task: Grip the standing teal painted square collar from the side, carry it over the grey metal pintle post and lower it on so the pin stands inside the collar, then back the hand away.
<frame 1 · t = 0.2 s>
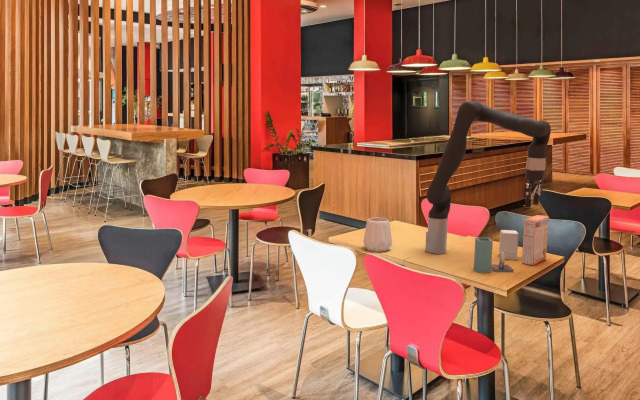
hand: (531, 205, 227), 29 cm above the table, tool pointing down, fingers open, 8 cm apart
cracker box: (533, 262, 246), on the table
vase: (377, 249, 265), on the table
pintle: (501, 269, 233), on the table
collar: (482, 270, 231), on the table
supplement box: (507, 257, 252), on the table
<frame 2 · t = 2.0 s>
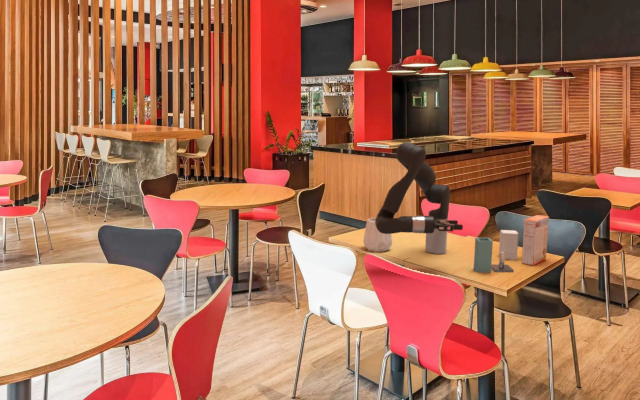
hand: (459, 225, 228), 20 cm above the table, tool horizontal, fingers open, 8 cm apart
nothing on the table moved.
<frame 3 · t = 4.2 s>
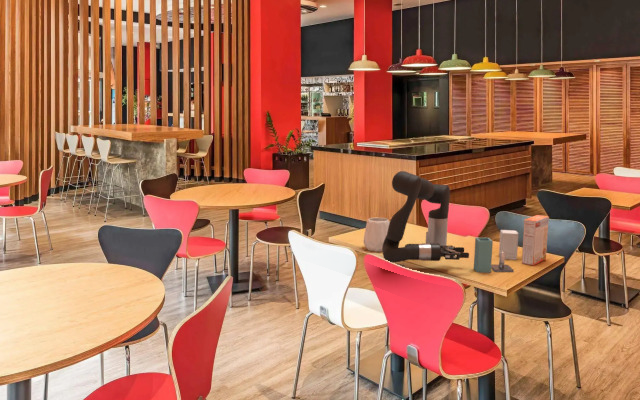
hand: (466, 252, 230), 8 cm above the table, tool horizontal, fingers open, 8 cm apart
nothing on the table moved.
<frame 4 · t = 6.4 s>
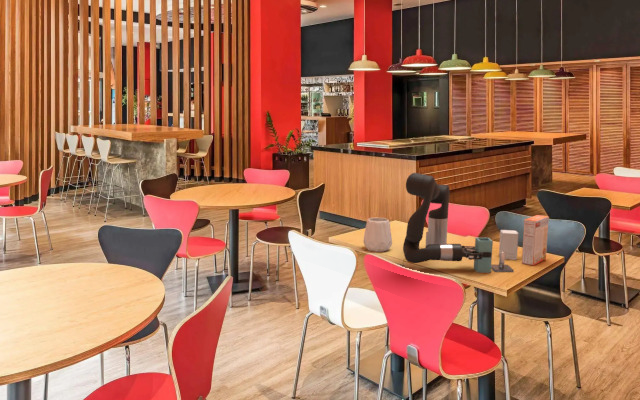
hand: (488, 252, 230), 8 cm above the table, tool horizontal, fingers closed on collar, 5 cm apart
collar: (482, 270, 231), on the table, touching gripper
everything else where it was.
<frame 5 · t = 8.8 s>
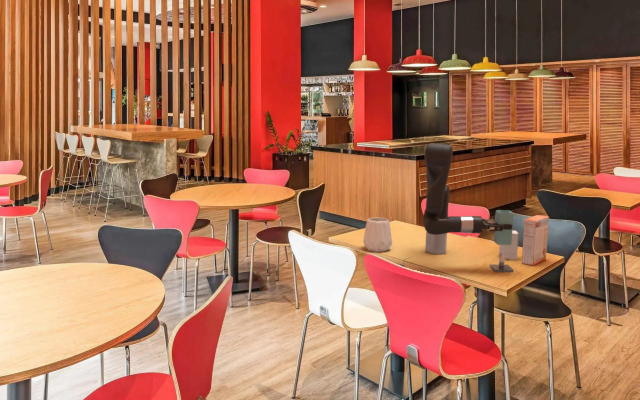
hand: (509, 225, 230), 20 cm above the table, tool horizontal, fingers closed on collar, 5 cm apart
collar: (502, 243, 231), point 12 cm above the table, touching gripper
everything else where it was.
when the fingers open (10 cm above the table, at t = 11.6 s): collar drops 1 cm, resting on pintle.
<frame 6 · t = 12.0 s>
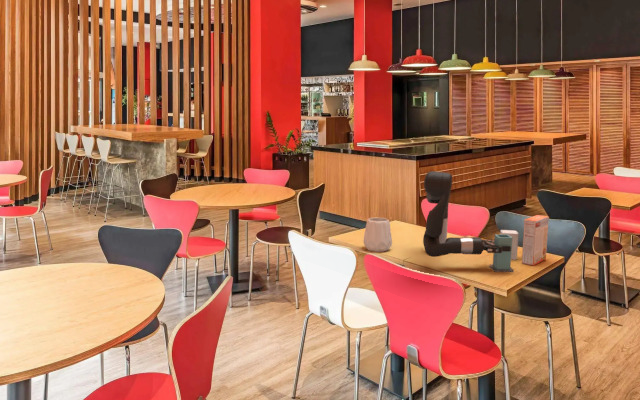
hand: (507, 246, 232), 11 cm above the table, tool horizontal, fingers open, 8 cm apart
collar: (501, 267, 233), point 1 cm above the table, touching pintle
everything else where it was.
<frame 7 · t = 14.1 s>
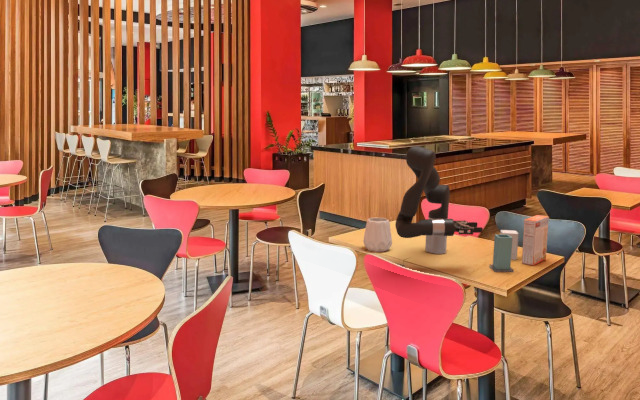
hand: (479, 227, 230), 19 cm above the table, tool horizontal, fingers open, 8 cm apart
nothing on the table moved.
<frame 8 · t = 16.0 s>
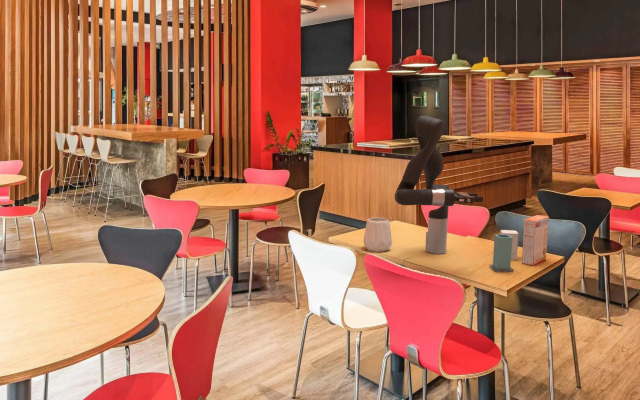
hand: (480, 197, 227), 32 cm above the table, tool horizontal, fingers open, 8 cm apart
nothing on the table moved.
at the end: collar 0.1 cm off-centre on the pintle, point 1.0 cm above the pintle's base; collar tilted 0°; the gripper is holding nothing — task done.
